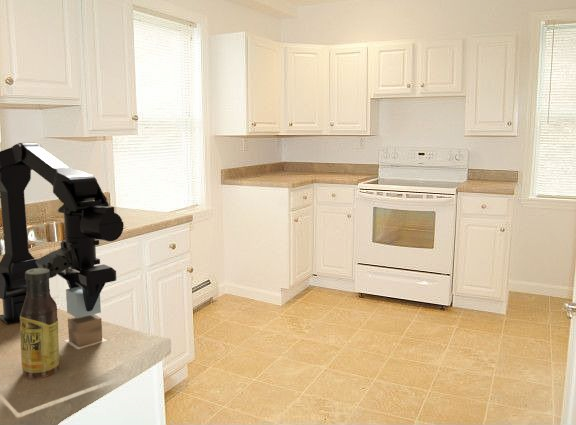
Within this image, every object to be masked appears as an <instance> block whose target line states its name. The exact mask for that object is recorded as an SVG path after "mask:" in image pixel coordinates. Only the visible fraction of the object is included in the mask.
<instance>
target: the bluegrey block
mask: <svg viewBox="0 0 576 425" xmlns="http://www.w3.org/2000/svg"><path fill="white" fill-rule="evenodd" d="M65 295H66V296H65V297H66V298H65V300H66V313H68V314H69V315H71V316H72V317H76V318H81V317H85V316H89V315H93V314H95V315H96V314H97V315H98V314H100V313H101V312H102V311H101V307H102V306H101V294H100V295H99V297H98V299H97V301H96V303H95V306H94V308H93V310H92V311H87V310H86V306H85V301H84V296H83V291H82V288H81V287H76V288H71V289H70V288H67V289H65Z"/></svg>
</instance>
